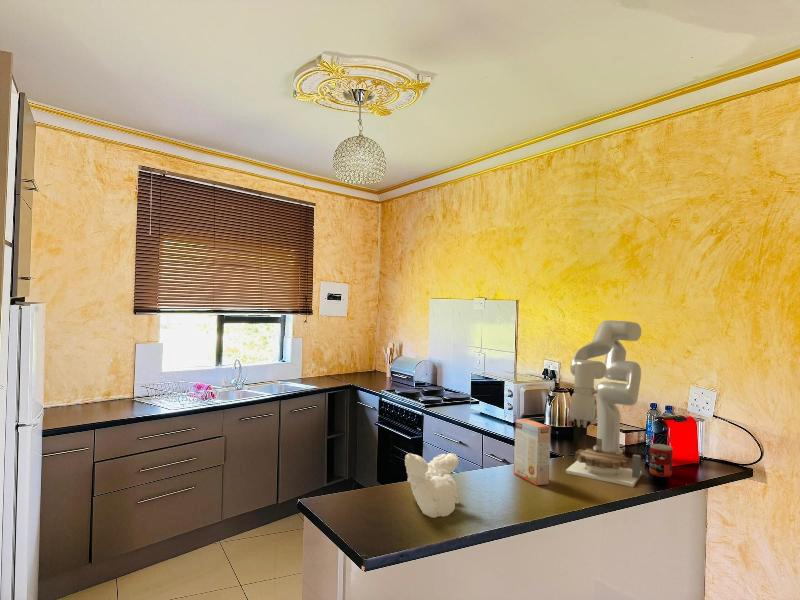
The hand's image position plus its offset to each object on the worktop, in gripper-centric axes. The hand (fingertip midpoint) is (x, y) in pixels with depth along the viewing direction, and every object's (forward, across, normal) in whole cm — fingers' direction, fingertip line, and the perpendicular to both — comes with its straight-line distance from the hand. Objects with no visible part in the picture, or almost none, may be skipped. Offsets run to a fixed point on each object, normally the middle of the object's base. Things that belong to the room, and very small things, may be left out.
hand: (582, 436), depth 205 cm
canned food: (+12, -28, -10) cm, 32 cm away
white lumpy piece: (+14, +26, +76) cm, 81 cm away
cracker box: (+13, +10, +30) cm, 35 cm away
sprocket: (+7, -9, +5) cm, 12 cm away
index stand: (+12, -10, +5) cm, 16 cm away
